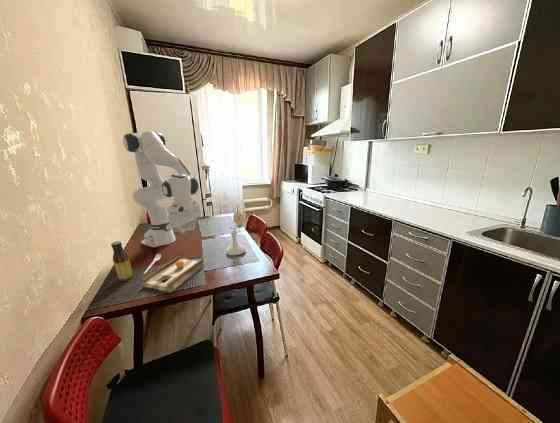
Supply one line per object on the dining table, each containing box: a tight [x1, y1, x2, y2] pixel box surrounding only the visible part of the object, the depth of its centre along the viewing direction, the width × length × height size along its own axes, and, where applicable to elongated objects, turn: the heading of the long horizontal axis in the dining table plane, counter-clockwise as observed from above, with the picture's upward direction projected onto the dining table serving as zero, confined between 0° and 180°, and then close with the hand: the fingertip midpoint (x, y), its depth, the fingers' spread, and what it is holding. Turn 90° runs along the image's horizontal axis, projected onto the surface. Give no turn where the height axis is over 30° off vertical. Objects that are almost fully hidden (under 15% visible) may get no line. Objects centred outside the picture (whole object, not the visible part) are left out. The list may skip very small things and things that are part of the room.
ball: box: [176, 260, 184, 268], centre depth 119 cm, size 4×4×4 cm
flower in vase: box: [225, 211, 246, 256], centre depth 136 cm, size 13×11×25 cm
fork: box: [143, 253, 162, 275], centre depth 130 cm, size 3×20×2 cm, turn 6°
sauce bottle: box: [110, 240, 134, 282], centre depth 114 cm, size 7×6×20 cm
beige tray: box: [141, 255, 205, 293], centre depth 117 cm, size 16×24×4 cm, turn 161°
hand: (188, 230), depth 124 cm, fingers open, 7 cm apart
